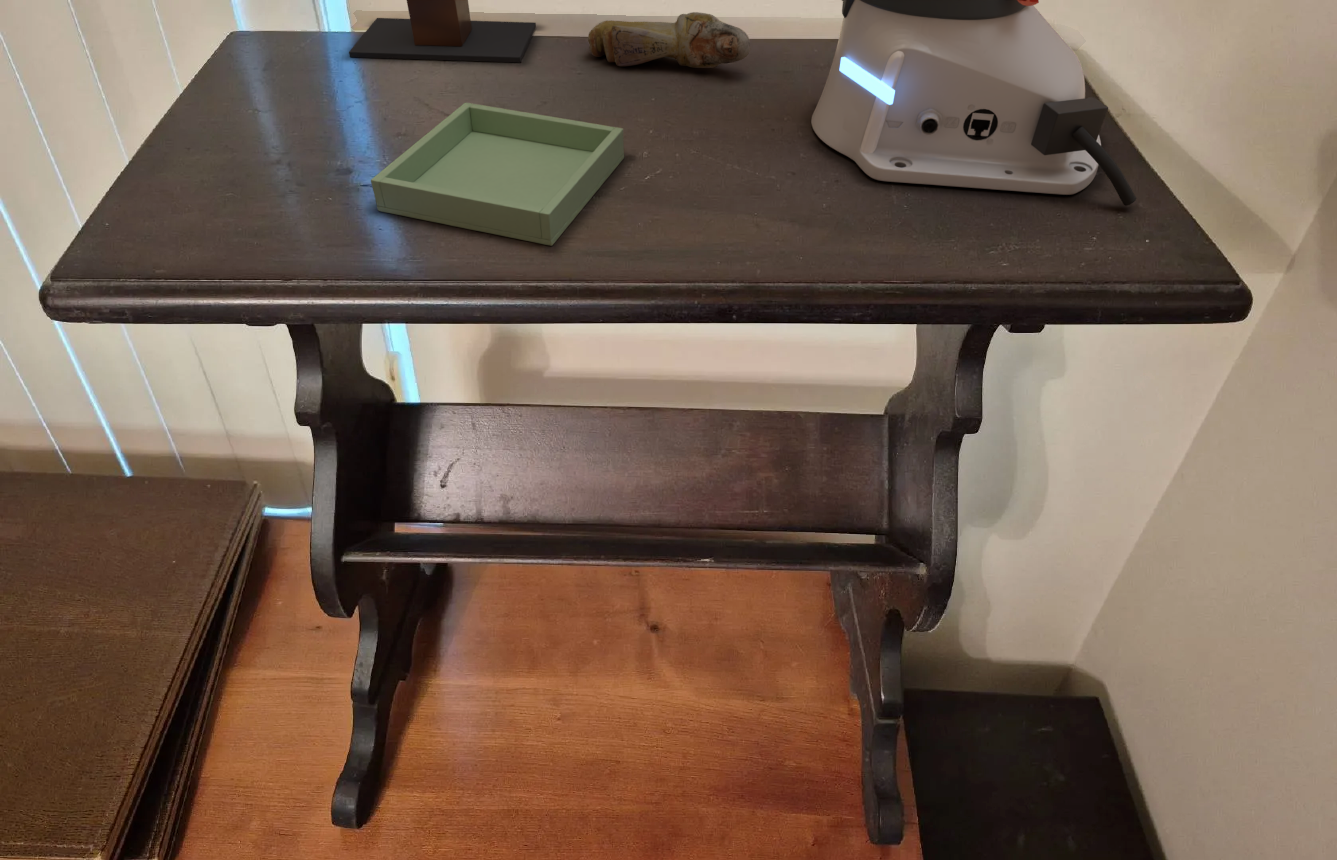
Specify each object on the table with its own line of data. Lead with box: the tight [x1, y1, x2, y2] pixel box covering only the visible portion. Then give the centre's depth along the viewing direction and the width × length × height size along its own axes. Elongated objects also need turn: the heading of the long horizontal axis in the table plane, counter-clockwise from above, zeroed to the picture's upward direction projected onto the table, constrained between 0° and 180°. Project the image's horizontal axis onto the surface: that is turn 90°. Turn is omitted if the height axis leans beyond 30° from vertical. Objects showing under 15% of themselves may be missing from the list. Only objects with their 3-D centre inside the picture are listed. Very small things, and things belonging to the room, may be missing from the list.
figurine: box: [587, 11, 751, 69], centre depth 79 cm, size 5×5×15 cm
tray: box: [370, 102, 625, 247], centre depth 64 cm, size 13×13×2 cm
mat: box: [348, 17, 537, 63], centre depth 84 cm, size 16×9×1 cm, turn 87°
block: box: [406, 0, 472, 47], centre depth 82 cm, size 4×4×4 cm
